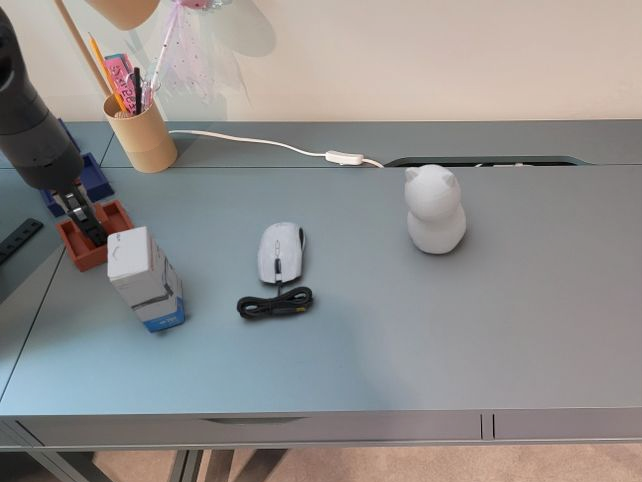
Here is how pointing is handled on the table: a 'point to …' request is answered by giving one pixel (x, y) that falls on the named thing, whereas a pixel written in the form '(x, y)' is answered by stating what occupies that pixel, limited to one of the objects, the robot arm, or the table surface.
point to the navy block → (69, 134)
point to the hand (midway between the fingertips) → (98, 232)
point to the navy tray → (90, 180)
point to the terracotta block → (105, 222)
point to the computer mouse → (279, 271)
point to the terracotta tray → (76, 245)
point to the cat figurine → (434, 208)
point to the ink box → (145, 278)
